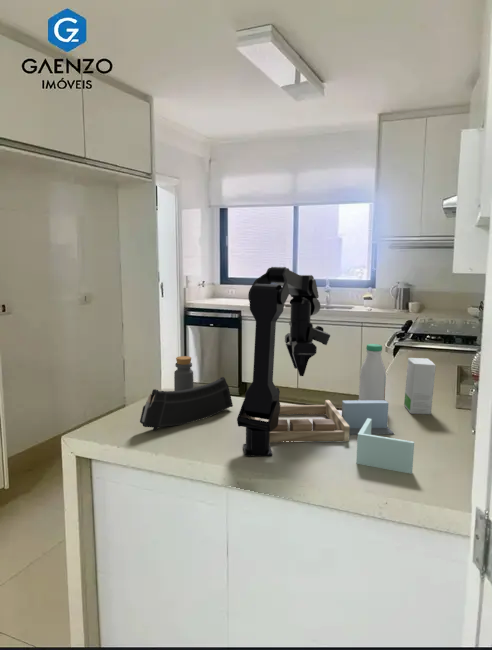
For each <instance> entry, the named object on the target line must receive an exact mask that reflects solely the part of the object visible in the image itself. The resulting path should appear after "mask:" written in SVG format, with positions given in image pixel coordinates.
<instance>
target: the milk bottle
mask: <svg viewBox="0 0 492 650" xmlns="http://www.w3.org/2000/svg"><path fill="white" fill-rule="evenodd" d="M365 349H366V356H365V359H364V361H363V363H362V365H361V367H360V371H359V373H360V375H359V386H358V388H359V389H358V390H359V391H358V400H386V384H387V383H386V380H387V377H386V376H387V375H386V373H387V372H386V367H385V364H384V362H383V359H382V352H383V346H382V345H381V344H377V343H368V344H366V348H365Z"/></svg>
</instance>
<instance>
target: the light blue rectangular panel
mask: <svg viewBox="0 0 492 650" xmlns="http://www.w3.org/2000/svg"><path fill="white" fill-rule="evenodd" d="M341 402H342V404H341V416H342V417H343V418H344V420H345V421H346V422H347V424H348V425H349V426H350V428H362V426H363V425H364V423H365V421H366V420H367V418H369V419H372V425H371V428H387V427H388V422H389V421H388V419H389V418H388V417H389V416H388V415H389V402H388V401H387V400H386V399H385V400H359V399H357V400H356V399H355V400H341Z"/></svg>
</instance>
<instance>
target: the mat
mask: <svg viewBox="0 0 492 650" xmlns="http://www.w3.org/2000/svg"><path fill="white" fill-rule="evenodd" d="M360 430H361V428H350V429H349V436H355V435H356V436H358V433H359V431H360ZM371 435H375V436H381V435H395V434H394V432H393V430H391V428H390V427H389V426H387V428H371Z"/></svg>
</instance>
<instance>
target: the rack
mask: <svg viewBox="0 0 492 650" xmlns="http://www.w3.org/2000/svg"><path fill="white" fill-rule="evenodd" d="M279 414H306V415H327V416H326V417H327V419H328V418H329V419H332V421H333V422H334V423H335V430H334V431H289V430H288V431H271V432H270V443H287V442H286V441H289V442H288V443H295V442H294V441H343V442H344V441H345V442H346V441H348V442H350V435H349V429H350V426H349V425H348V424H347V422H346V421H345V420H344V418H343V417H342V414H341V413H340V412H339V411H338V409H337V408H336V407H335V405H334V404H333V403H332V402H331V400H329V399H325V401H324V404H297V405H296V404H289V405H288V404H287V405H286V404H280V413H279ZM251 419H255V420H261V418H255V417H251ZM283 441H284V442H283ZM291 441H293V442H291Z"/></svg>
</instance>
